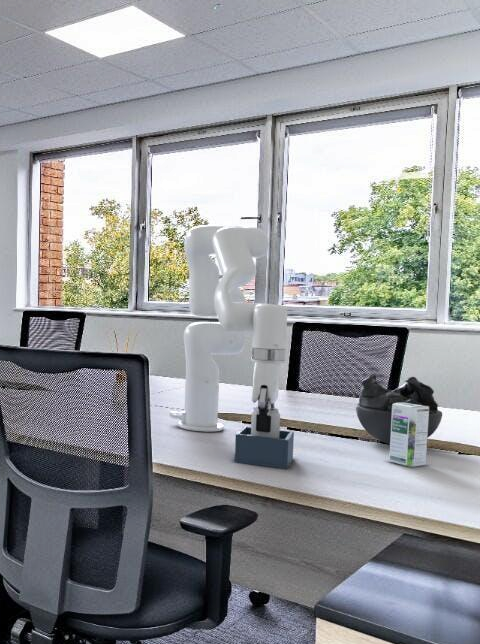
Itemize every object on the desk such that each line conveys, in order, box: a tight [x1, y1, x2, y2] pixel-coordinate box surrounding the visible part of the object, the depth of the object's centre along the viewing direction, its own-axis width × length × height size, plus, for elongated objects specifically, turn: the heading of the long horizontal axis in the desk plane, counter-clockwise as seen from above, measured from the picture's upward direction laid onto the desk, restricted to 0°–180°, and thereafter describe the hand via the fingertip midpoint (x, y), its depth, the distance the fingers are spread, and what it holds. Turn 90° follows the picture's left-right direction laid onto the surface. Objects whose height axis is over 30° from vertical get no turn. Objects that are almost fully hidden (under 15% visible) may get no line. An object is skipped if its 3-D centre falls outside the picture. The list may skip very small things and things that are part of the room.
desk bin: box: [234, 425, 295, 470], centre depth 169 cm, size 12×12×7 cm
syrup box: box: [388, 403, 429, 468], centre depth 168 cm, size 6×6×14 cm
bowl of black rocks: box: [355, 373, 443, 445], centre depth 189 cm, size 20×20×19 cm
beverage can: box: [250, 406, 281, 438], centre depth 169 cm, size 6×6×12 cm
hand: (265, 428), depth 169 cm, fingers closed on beverage can, 6 cm apart
